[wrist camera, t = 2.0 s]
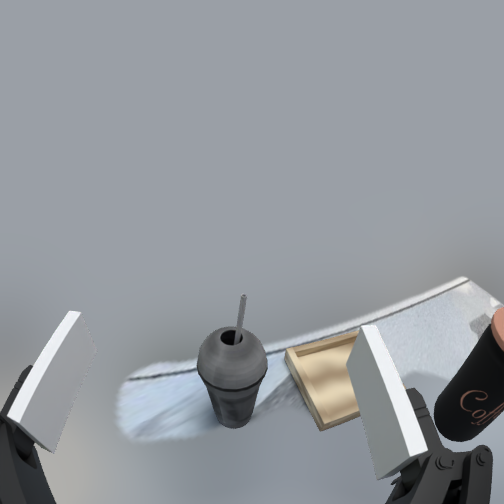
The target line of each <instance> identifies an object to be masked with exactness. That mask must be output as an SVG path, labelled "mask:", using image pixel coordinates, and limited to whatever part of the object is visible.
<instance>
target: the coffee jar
mask: <svg viewBox="0 0 504 504" xmlns="http://www.w3.org/2000/svg"><path fill="white" fill-rule="evenodd" d="M503 411H504V307H503V308H500V309H498V310H497V311H496V312H495V314H494V315H493V317H492V321H491V324H489V326H488V327H487V328H486V330H485V331H484V333H483V334H482V336H481V338H480V339H479V341H478V342H477V344H476V346H475V347H474V349H473V350H472V352H471V353H470V355H469V356H468V358H467V359H466V361H465V362H464V364H463V365H462V366H461V368H460V369H459V371H458V372H457V373H456V375H455V376H454V377H453V379H452V380H451V381H450V383H449V384H448V385H447V387H446V388H445V389H444V391H443V392H442V393H441V394H440V395H439V397H438V399H437V401H436V403H435V408H434V420H435V425H436V427H437V428H438V430H439V432H440V433H441V434H442V435H443V436H444V437H445V438H447V439H449V440H451V441H456V442H464V441H468V440H471V439H473V438H474V437H475V436H477V435H478V434H479V433H480V432H482V431H483V430H484V429H485V428H486V427H487V426H488V425H489V424H490V423H491V422H492V421H493V420H494V419H496V418H497V417H498V416H499V415H500V414H501V412H503Z"/></svg>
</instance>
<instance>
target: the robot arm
mask: <svg viewBox="0 0 504 504" xmlns="http://www.w3.org/2000/svg"><path fill="white" fill-rule="evenodd" d="M96 353H97V349H96V347H95V345H94V342H93V340H92V338H91V336H90V333H89V331H88V328H87V326H86V323H85V322H84V319H83V316H82V313H81V312H76V311H69V312H68V313H67V315H66V316H65V318H64V319H63V321H62V322H61V324H60V325H59V326H58V328H57V329H56V331H55V332H54V334H53V335H52V337H51V339H50V340H49V342H48V343H47V345H46V346H45V348H44V350H43V351H42V353H41V354H40V356H39V358H38V359H37V361H36V363H35V364H34V366H32V365H29V366H28V367H27V368H26V369H25V370H24V371H23V372H22V373H21V375H20V377H19V379H18V382H16V384H15V386H14V388H13V389H12V391H11V393H10V395H9V397H8V399H7V401H6V403H5V405H4V407H3V409H2V411H1V412H0V504H56V502H55V500H54V497H53V495H52V493H51V490H50V488H49V485H48V483H47V480H46V477H45V475H44V472H43V469H42V466H41V463H40V460H39V457H38V454H37V450H36V448H35V446H34V443H37V444H38V445H39V446H40V447H41V448H43V449H45V450H47V451H49V452H51V453H53V454H54V452H55V450H56V447H57V444H58V441H59V439H60V436H61V433H62V431H63V428H64V426H65V423H66V420H67V418H68V415H69V413H70V411H71V408H72V406H73V403H74V401H75V399H76V396H77V394H78V392H79V389H80V387H81V385H82V383H83V381H84V378H85V376H86V374H87V372H88V370H89V368H90V366H91V364H92V361H93V359H94V357H95V355H96ZM346 367H347V370H348V374H349V377H350V380H351V384H352V387H353V390H354V394H355V397H356V401H357V404H358V408H359V411H360V415H361V418H362V422H363V426H364V430H365V433H366V437H367V441H368V445H369V448H370V453H371V457H372V461H373V465H374V469H375V474H376V478H377V480H380V479H383V478H387V477H390V476H393V475H395V474H396V473H398V472H399V471H400V473H401V476H400V477H398V478H397V479H395V480H394V481H393V482H392V483H391V485H393V484H395V483H396V485H395V487H394V489H393V491H392V493H391V495H390V496H389V498H388V500H387V502H386V503H385V504H489V502H490V494H491V483H492V464H493V456H492V452H491V450H490V449H489V448H488V447H487V446H485V445H479V446H477V447H476V448H475V449H474V450H472V451H468V452H457V453H456V452H452V451H451V450H449V449H447V448H444V446H443V445H442V443H441V441H440V438H439V436H438V433H437V430H436V428H435V425H434V423H433V420H432V418H431V416H430V413H429V411H428V408H426V404H425V401H424V399H423V397H422V395H421V394H420V393H419V392H418V391H417V390H416V389H415V388H411V389H406V390H405V388H404V386H403V384H402V381H401V379H400V377H399V374H398V372H397V370H396V368H395V365H394V363H393V361H392V359H391V357H390V354H389V352H388V350H387V348H386V346H385V344H384V341H383V339H382V337H381V335H380V333H379V331H378V329H377V327H376V325H366V326H361V327H360V330H359V332H358V335H357V338H356V340H355V343H354V345H353V348H352V350H351V353H350V355H349V358H348V360H347V362H346Z"/></svg>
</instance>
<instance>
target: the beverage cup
mask: <svg viewBox="0 0 504 504" xmlns="http://www.w3.org/2000/svg"><path fill="white" fill-rule="evenodd" d="M246 298H247V295H246V294H242V295H241V300H240V307H239V313H238V321H237V327H224V328H220V329H218V330H215V331H214V332H213V333H211V334H210V335H209V336H207V338H206V339H205V340H204V342H203V343H202V345H201V347H200V350H199V355H198V361H197V369H198V374H199V375H200V377H201V379H202V380H203V382H204V384H205V385H206V387H207V390H208V393H209V396H210V399H211V402H212V405H213V408H214V411H215V414H216V416H217V418H218V420H219V422H220V423H221V424H222V425H224V426H225V427H228V428H235V429H236V428H240V427H243V426H244V425H246V424H247V423H248V422H249V420H250V417H251V415H252V412H253V409H254V405H255V401H256V398H257V394H258V390H259V386H260V384H261V382H262V380H263V378H264V377H265V374H266V372H267V369H268V367H267V358H266V353H265V350H264V348H263V346H262V344H261V342H260V340H259V339H258V338H257V337H256V336H255V335H254V334H253V333H251V332H249V331H247V330H245V329H243V328H242V324H243V318H244V311H245V305H246Z"/></svg>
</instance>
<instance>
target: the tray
mask: <svg viewBox="0 0 504 504" xmlns="http://www.w3.org/2000/svg"><path fill="white" fill-rule="evenodd" d="M358 332H359V330H358V331H355V332H351V333H348V334H344V335H340V336H337V337H333V338H329V339H325V340H321V341H317V342H313V343H309V344H305V345H301V346H296V347H292V348H287V349H286V353H285V358H284V359H285V361H286V363H287V366H288V368H289V370H290V372H291V374H292V376H293V378H294V380H295V382H296V384H297V386H298V388H299V390H300V392H301V394H302V396H303V398H304V400H305V402H306V404H307V406H308V409H309V411H310V413H311V415H312V417H313V419H314V421H315V423H316V425H317V427H318V428H319V430H320V431H323V430H326V429H329V428H332V427H334V426H337V425H340V424H342V423H345V422H347V421H350V420H352V419H355V418H357V417H359V416H361V415H360V411H359V408H358V404H357V401H356V397H355V394H354V390H353V387H352V384H351V380H350V377H349V374H348V370H347V367H346V362H347V360H348V358H349V355H350V353H351V350H352V348H353V345H354V343H355V340H356V338H357V335H358ZM402 384H403V383H402ZM403 386H404V384H403ZM404 388H405V389H406V387H405V386H404Z"/></svg>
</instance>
